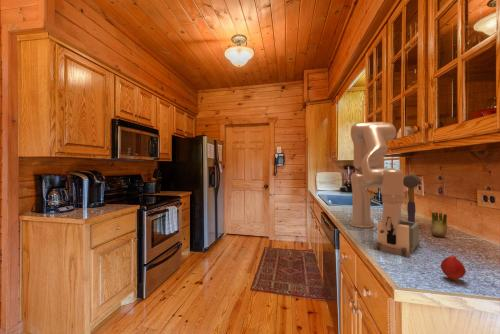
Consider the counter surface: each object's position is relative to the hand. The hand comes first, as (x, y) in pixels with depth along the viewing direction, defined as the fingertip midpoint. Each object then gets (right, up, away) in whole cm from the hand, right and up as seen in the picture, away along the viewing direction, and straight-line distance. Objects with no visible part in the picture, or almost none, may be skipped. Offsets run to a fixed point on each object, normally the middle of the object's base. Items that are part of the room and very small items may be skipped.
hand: (392, 242), depth 97 cm
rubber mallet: (+31, -3, +34) cm, 46 cm away
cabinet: (+4, -3, +4) cm, 7 cm away
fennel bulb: (+33, -3, +17) cm, 38 cm away
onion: (+4, -4, -24) cm, 25 cm away
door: (0, -2, 0) cm, 2 cm away
